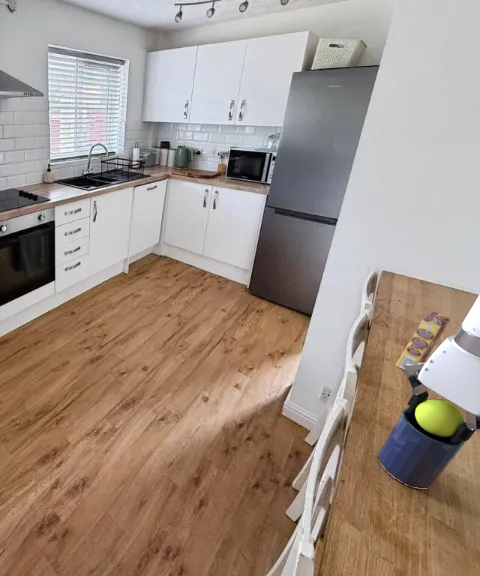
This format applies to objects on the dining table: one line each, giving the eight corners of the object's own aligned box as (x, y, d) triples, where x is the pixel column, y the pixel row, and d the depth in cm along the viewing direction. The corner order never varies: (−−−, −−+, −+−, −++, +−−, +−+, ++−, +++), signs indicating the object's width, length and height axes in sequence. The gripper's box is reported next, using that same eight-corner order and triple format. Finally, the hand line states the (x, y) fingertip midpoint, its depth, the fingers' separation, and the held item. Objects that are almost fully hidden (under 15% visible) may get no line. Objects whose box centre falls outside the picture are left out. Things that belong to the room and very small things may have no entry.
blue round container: (443, 480, 70) (476, 437, 64) (415, 497, 67) (447, 452, 61) (395, 444, 77) (421, 402, 71) (367, 457, 74) (392, 414, 68)
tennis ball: (461, 438, 65) (480, 412, 62) (440, 449, 63) (458, 422, 60) (421, 412, 71) (437, 387, 68) (401, 421, 68) (416, 396, 65)
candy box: (413, 375, 98) (441, 327, 90) (394, 366, 101) (420, 319, 94) (425, 363, 102) (452, 317, 95) (407, 355, 105) (432, 310, 98)
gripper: (577, 373, 52) (506, 457, 61) (438, 312, 66) (396, 387, 75) (552, 385, 50) (481, 472, 58) (413, 320, 64) (372, 397, 72)
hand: (434, 424), depth 66 cm, fingers closed on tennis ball, 6 cm apart
